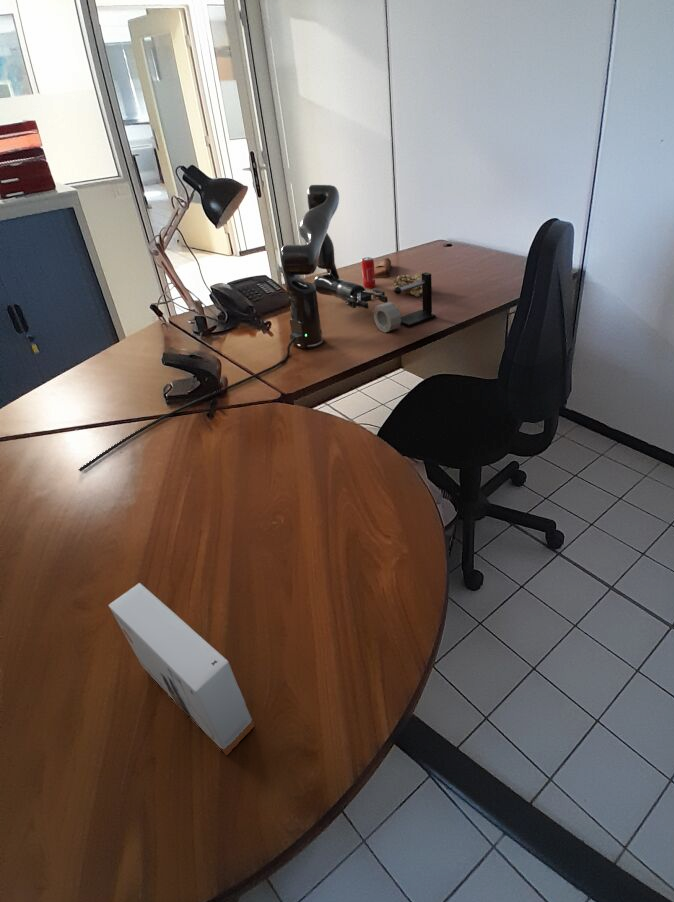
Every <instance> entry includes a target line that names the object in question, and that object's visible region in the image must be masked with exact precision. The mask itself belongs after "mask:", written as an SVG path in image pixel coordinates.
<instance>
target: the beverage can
mask: <svg viewBox="0 0 674 902" xmlns="http://www.w3.org/2000/svg"><path fill="white" fill-rule="evenodd" d="M374 266H375V261H374V258H373V257H369V256H367V257H363V258H361V272H362V284H363V287H364V289H372V288H373V289H374V288H375V286H376V277H375V272H374Z"/></svg>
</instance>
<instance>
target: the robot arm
mask: <svg viewBox="0 0 674 902" xmlns="http://www.w3.org/2000/svg"><path fill="white" fill-rule="evenodd" d="M306 198H307V205H308V210H307V211H306V212H305V213H304V214H303V216H302V218H301V221H300V223H299V226H298V232H299V236H300V237H301V239H302V241H303V242H304V243H305V244H285V245H283V246H282V247H281V250H280V263H281V270H282V273H283V278H284V283H285V288H286V292H287V297H288V302H289V310H290V316H291V318H289V325H290V326H289V327H290V332H291V333H289V339H290V342H289V343H288V344H287V347H286V355H285V357H284V358H283V359H281V360H280V361H278V362H277V363H275V364H273V365H272V366H270V367H267V368H264V369H263V370H261V371H259V372H256V373H255V374H252V375H250V376H248V377H245V378H243V379H241V380H239V381H237V382H234V383H232V384H230V385H227V386H225V387H226V388H225V387H223V388H221V390H220V389H218V390H219V391H218V390H216V391H217V392H216V391H214V392H212V394H211V393H209V394H210V395H209V394H206V395H204V396H202V397H199V398H198V399H196V400H193V401H191V402H189V403H186V404H184V405H182V406H181V407H179V408H176V409H174V410H173V411H171V413H170V412H168V413H166V414H167V415H166V414H164V415H165V416H164V415H162V416H160V417H159V418H157V419H155V420H156V421H155V420H153V421H154V422H153V421H151V422H152V423H151V422H149V423H147V424H146V425H147V426H146V425H144V426H145V427H144V426H143V428H142V427H141V428H139V429H140V430H139V429H137V430H138V431H137V430H135V431H134V432H135V433H134V432H132V433H133V434H132V433H131V434H129V435H130V436H129V435H127V436H128V437H127V436H126V437H124V438H125V439H124V438H122V439H121V440H122V441H121V440H119V441H120V442H119V441H118V442H119V443H118V442H116V443H117V444H116V443H115V444H113V445H114V446H113V445H112V446H110V447H111V448H110V447H109V448H107V449H108V450H107V449H106V450H104V451H105V452H104V451H102V452H101V453H102V454H101V453H100V454H98V455H99V456H98V455H96V456H95V457H96V458H95V457H94V458H95V459H94V458H92V459H93V460H92V459H91V460H92V461H91V460H89V461H88V462H89V463H88V462H86V463H85V464H86V465H85V464H83V465H82V466H83V467H82V466H81V467H79V468H80V469H79V468H78V471H79V472H83V471H84V470H85V469H87V468H88V467H90V466H91V465H93V464H94V463H96V462H97V461H98V460H100V459H101V458H103V457H104V456H106V455H107V454H109V453H110V452H112V451H113V450H115V449H116V448H118V447H120V446H121V445H122V444H124V443H125V442H127V441H128V440H130V439H132V438H133V437H135V436H136V435H139V434H140V433H142V432H144V431H145V430H147V429H148V428H150V427H152V426H154V425H156V424H157V423H159V422H161V421H163V420H165V419H168V418H169V417H171V416H173V415H175V414H177V413H179V412H181V411H183V410H185V409H187V408H190V407H192V406H194V405H195V404H198V403H201V402H202V401H206V400H207V399H209V398H211V397H213V396H216V395H218V394H220V393H223V392H225V391H228V390H230V389H232V388H234V387H237V386H239V385H242V384H243V383H245V382H247V381H250V380H253V379H254V378H256V377H258V376H260V375H263V374H265V373H268V372H270V371H272V370H274V369H276V368H277V367H279V366H280V365H282V364H283V363H285V362H286V361H287V360H288V358H289V356H290V352H291V350H290V349H291V346H292V345H293V346H294V347H297V348H300V349H303V350H307V349H312V348H317V347H319V346H321V345H322V344H324V339H323V332H322V324H321V318H320V310H319V309H320V308H319V302H318V301H319V300H318V294H320V295H324V296H330V297H336V298H338V299H340V300H342V301H343V302H345V306H348V307H350V308H352V309H356V308H357V307H358V308H363V309H365V310H368V309H370V307H369V303H370V302H374V303H375V302H376V301H379V302H382V303H383V304H384V303H387V302H389V300H388V296H386V294H385V291H383V290H380V289H377V288H373V289H372V291H370V290H366V288H365V287H364V285H363V286H362V285H361V284H359V283H355V282H353V281H350V280H345V279H342V278H340V276H339V273H338V269H337V265H336V262H335V261H336V259H335V258H336V257H335V246H334V243H333V240H332V238H331V237H330V235H329V234H328V230H329V227H330V223H331V221H332V218H333V217H334V215H335V213H336V212H337V209H338V207H339V203H340V192H339V189H338V188H337V187H336V186H335V185H332V184H311V185H310V186H308V189H307V197H306ZM317 267H318V269H320V270H321V269H322V270H326V272H327V273H325V274H319V275H317V276H315V278H314V279H313V281H312V282H310V281H307V280H305V279H303V278H302V277H300V276H309V275H312V274H314V273H315V271H316V270H317ZM317 293H318V294H317Z"/></svg>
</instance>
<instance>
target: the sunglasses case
mask: <svg viewBox="0 0 674 902" xmlns="http://www.w3.org/2000/svg"><path fill="white" fill-rule="evenodd" d="M391 266H392V260H391V259H390V258H388V257H387V258H384V259H382V260H380V261H379V262H378V263H376V264H374V272H375V278H388V277H389V275H390V272H391Z"/></svg>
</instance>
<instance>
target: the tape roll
mask: <svg viewBox="0 0 674 902" xmlns="http://www.w3.org/2000/svg"><path fill="white" fill-rule="evenodd" d="M401 315H402V314H401V312H400V310H399V307H397V305H396V304H395V303H394V302H392V301H388V302H387V303H384V302H383V303H381V304H378V305H376V306H375V307H374V309H373V319H374V322H375V324H376V327H377V328H378V329H379V331H381V332H383V333H385V334H386V333H389V332H391V331H394V330H396V329H398V328H400V326H401V317H402V316H401Z"/></svg>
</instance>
